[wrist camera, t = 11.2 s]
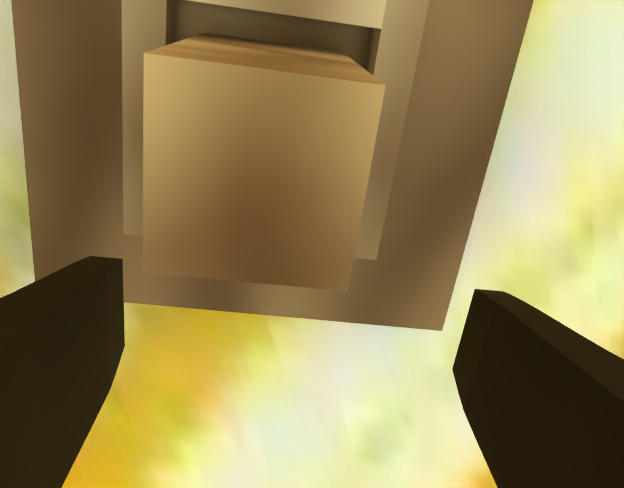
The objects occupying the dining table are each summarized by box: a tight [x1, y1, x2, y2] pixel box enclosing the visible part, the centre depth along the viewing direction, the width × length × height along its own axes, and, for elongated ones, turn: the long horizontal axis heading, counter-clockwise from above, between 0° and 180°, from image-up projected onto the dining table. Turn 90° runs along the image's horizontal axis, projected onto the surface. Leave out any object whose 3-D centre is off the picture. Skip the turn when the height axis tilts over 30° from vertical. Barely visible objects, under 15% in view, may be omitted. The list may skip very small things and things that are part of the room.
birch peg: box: [143, 33, 386, 292], centre depth 14 cm, size 4×4×8 cm
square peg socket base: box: [12, 0, 533, 331], centre depth 17 cm, size 16×16×3 cm
